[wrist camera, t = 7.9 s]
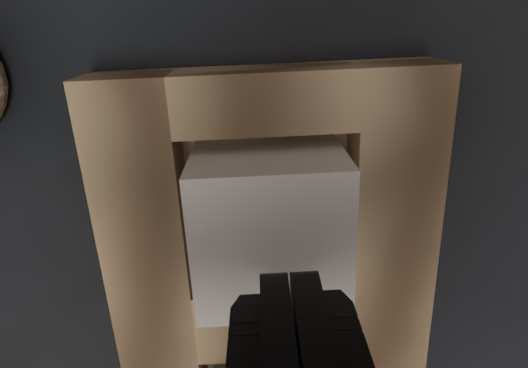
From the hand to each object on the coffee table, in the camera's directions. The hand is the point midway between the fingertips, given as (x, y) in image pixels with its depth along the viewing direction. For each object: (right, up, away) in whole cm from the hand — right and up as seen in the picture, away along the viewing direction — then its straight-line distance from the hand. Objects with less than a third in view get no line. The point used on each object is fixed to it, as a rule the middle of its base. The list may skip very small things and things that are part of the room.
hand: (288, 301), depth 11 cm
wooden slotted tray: (0, -6, +9) cm, 11 cm away
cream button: (0, +2, +5) cm, 6 cm away
